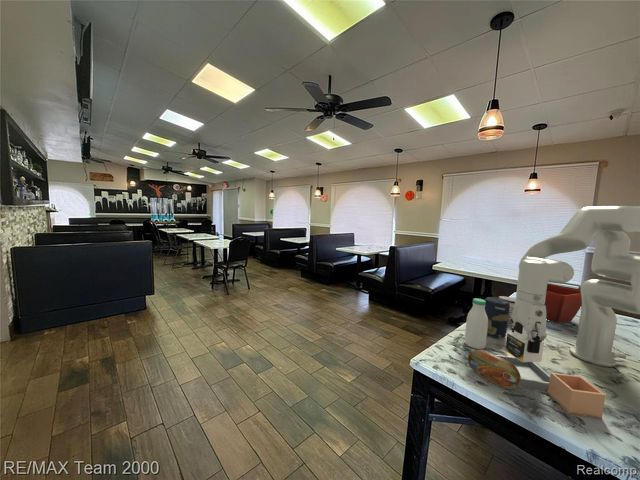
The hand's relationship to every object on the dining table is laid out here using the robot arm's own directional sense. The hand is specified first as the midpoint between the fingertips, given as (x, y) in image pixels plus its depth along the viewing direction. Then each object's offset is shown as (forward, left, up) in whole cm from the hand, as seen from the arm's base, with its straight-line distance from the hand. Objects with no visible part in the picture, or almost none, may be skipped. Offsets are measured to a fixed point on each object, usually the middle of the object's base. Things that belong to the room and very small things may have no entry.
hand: (524, 345), depth 85 cm
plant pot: (-49, -60, -11) cm, 78 cm away
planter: (-7, +13, -11) cm, 18 cm away
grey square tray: (0, 0, -11) cm, 11 cm away
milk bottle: (+7, -18, -11) cm, 23 cm away
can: (-24, -51, -11) cm, 58 cm away
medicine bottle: (0, 0, -4) cm, 4 cm away
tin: (+11, +5, -11) cm, 17 cm away
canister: (-6, -30, -11) cm, 33 cm away
